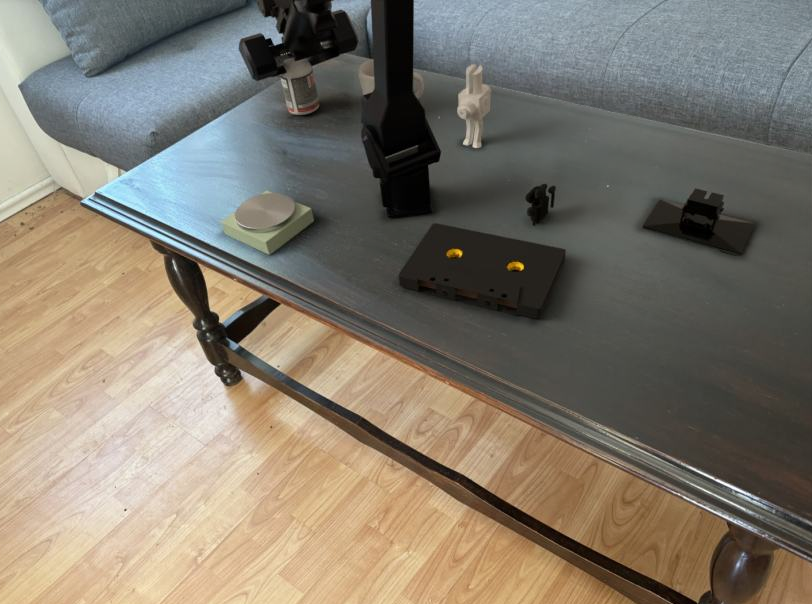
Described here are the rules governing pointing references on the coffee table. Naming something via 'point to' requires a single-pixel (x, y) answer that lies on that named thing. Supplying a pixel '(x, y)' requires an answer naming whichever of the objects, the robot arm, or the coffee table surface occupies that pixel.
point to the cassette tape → (484, 270)
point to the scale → (267, 221)
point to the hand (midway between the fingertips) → (293, 69)
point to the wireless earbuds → (539, 202)
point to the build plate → (700, 223)
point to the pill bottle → (299, 87)
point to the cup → (368, 78)
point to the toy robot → (474, 105)
